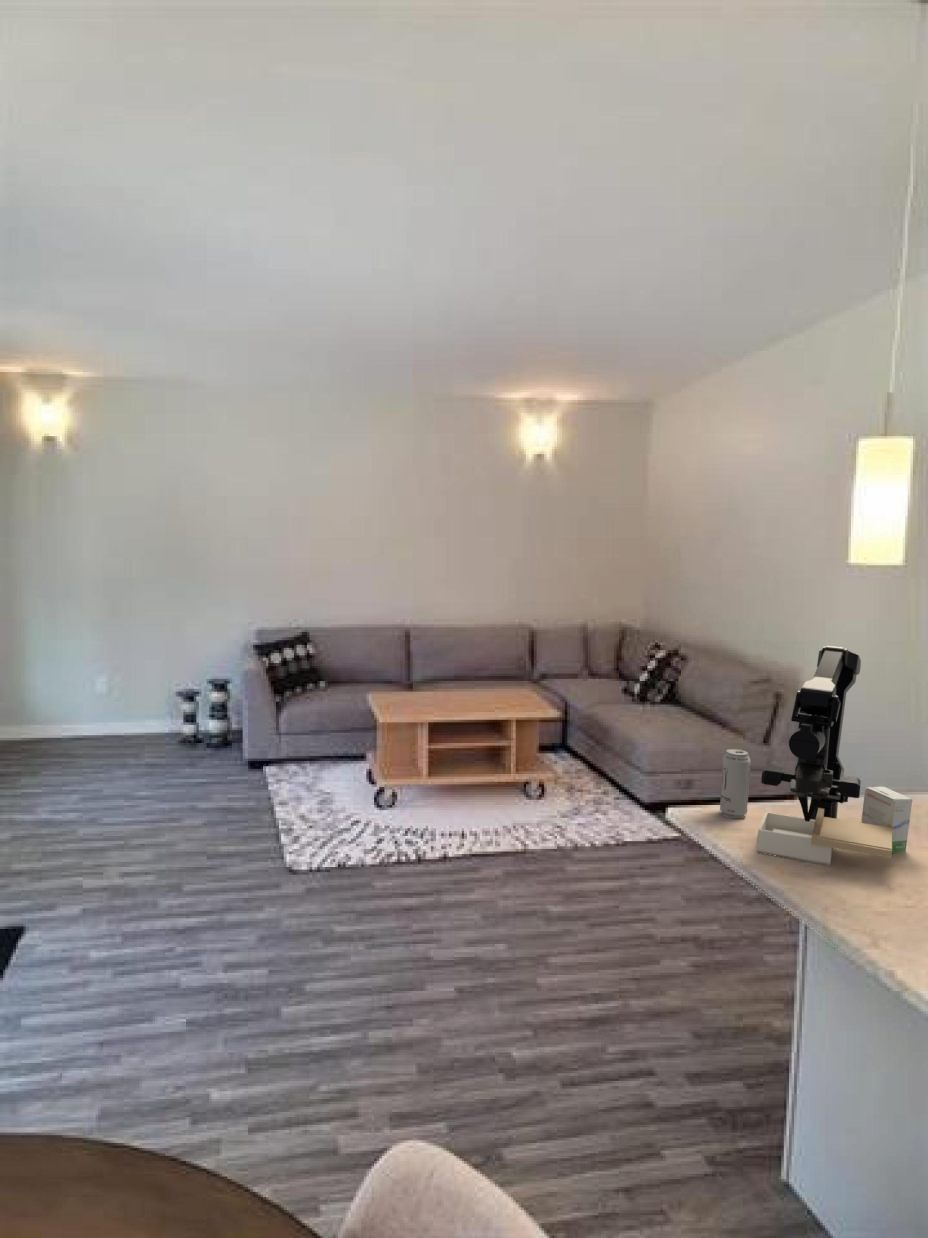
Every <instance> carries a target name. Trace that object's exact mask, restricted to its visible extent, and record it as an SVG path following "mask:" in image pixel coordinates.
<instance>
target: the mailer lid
mask: <svg viewBox="0 0 928 1238" xmlns="http://www.w3.org/2000/svg"><path fill="white" fill-rule="evenodd" d="M811 844H815V845H821V846H826V847H832V848H833V849H838V850H844V851H849V852H855V853H862V854H866V855H873V856H879V857H883V858H891V859H892V855H893V853H892V828H890V827H884V826H878V825H872V824H865V823H861V822H859V821H851V820H847V819H840V818H837V819H835V818H829V817H824V809H822V808H818V811H817V815H816V819H815V824H814V830H813V834H812V841H811Z"/></svg>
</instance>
